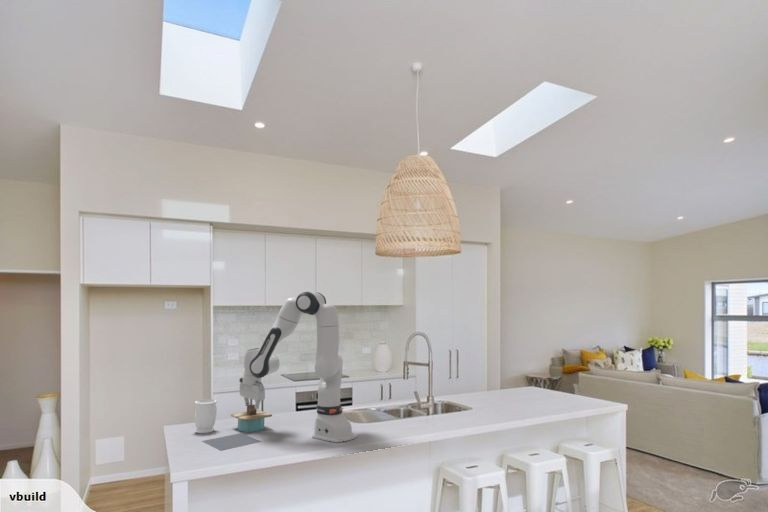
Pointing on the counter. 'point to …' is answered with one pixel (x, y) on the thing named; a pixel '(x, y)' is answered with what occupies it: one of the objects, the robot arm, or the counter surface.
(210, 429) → the jar
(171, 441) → the counter surface
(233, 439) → the mat
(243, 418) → the lid
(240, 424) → the bowl
